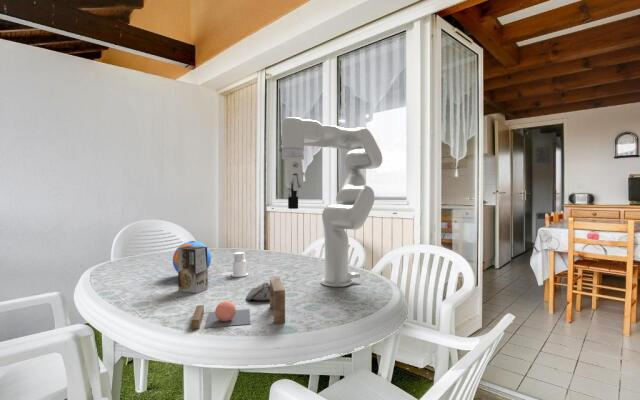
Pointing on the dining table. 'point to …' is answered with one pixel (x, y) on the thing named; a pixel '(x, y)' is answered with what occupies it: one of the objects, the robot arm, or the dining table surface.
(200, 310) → the strip
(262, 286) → the fossilized seashell
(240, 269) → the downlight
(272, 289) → the bridge
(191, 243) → the treat dispenser ball
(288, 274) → the dining table surface
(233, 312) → the ball
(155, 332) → the dining table surface
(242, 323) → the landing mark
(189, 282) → the coffee box
